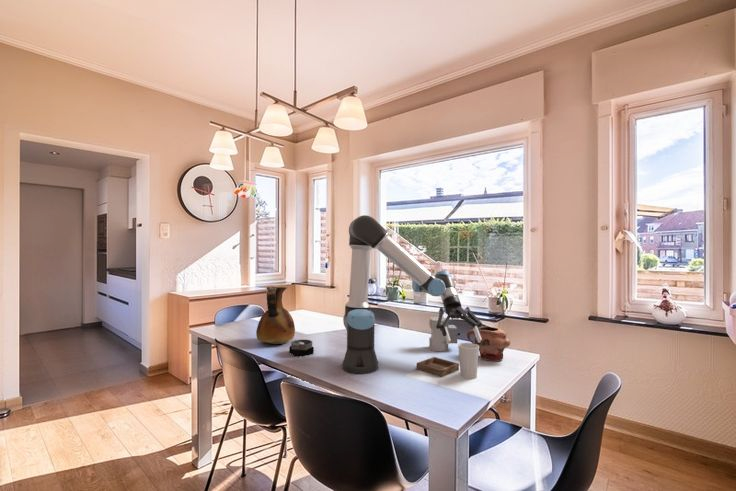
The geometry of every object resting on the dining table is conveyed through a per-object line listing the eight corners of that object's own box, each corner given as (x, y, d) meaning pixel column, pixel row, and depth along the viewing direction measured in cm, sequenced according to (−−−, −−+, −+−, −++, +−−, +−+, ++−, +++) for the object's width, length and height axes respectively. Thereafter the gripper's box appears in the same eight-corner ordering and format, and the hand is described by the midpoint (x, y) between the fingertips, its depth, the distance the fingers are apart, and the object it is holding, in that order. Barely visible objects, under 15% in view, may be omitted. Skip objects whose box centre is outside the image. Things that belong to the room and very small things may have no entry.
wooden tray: (441, 377, 136) (441, 370, 136) (416, 369, 145) (416, 363, 145) (458, 369, 144) (458, 363, 144) (434, 362, 153) (434, 356, 153)
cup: (454, 373, 140) (454, 343, 140) (470, 371, 142) (470, 342, 143) (466, 380, 132) (466, 349, 132) (483, 378, 135) (483, 347, 135)
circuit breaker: (460, 351, 171) (460, 320, 171) (431, 350, 171) (431, 320, 171) (457, 346, 178) (457, 317, 179) (429, 346, 179) (429, 317, 179)
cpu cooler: (306, 338, 173) (316, 342, 165) (306, 349, 173) (316, 354, 165) (287, 341, 167) (295, 345, 159) (287, 353, 167) (295, 358, 159)
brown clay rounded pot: (461, 357, 161) (462, 327, 161) (470, 351, 171) (470, 322, 171) (507, 365, 150) (507, 333, 150) (513, 358, 160) (513, 328, 160)
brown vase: (297, 337, 195) (297, 284, 195) (291, 347, 175) (292, 288, 175) (261, 338, 194) (262, 284, 194) (252, 348, 174) (252, 288, 174)
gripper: (473, 304, 164) (489, 344, 149) (422, 305, 160) (433, 347, 145) (478, 294, 159) (495, 335, 144) (426, 295, 155) (438, 338, 140)
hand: (464, 341), depth 144 cm, fingers open, 13 cm apart
